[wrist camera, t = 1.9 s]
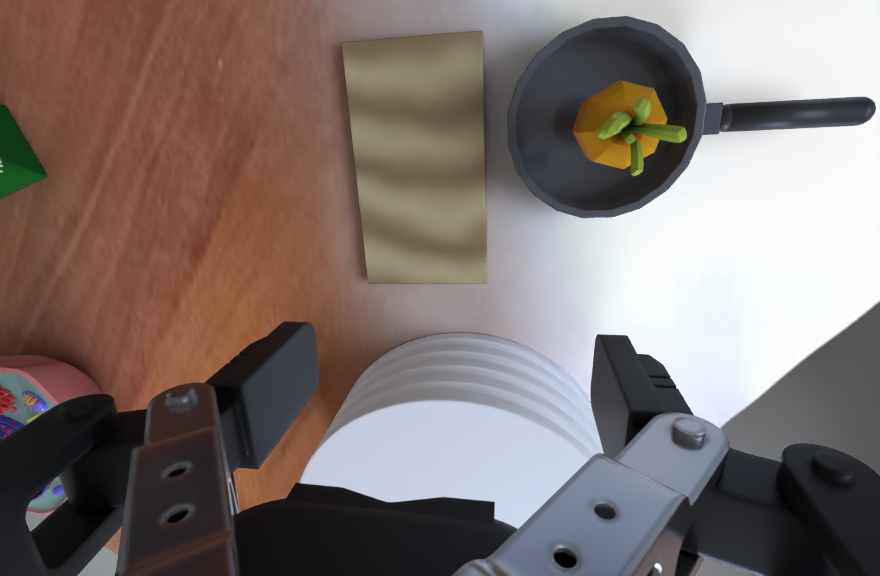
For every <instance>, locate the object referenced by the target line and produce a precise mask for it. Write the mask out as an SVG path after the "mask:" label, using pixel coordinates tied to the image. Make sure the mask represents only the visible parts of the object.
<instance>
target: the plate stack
mask: <svg viewBox="0 0 880 576" xmlns="http://www.w3.org/2000/svg"><path fill="white" fill-rule="evenodd" d="M597 453H602V454H604V452H603V449H602V445H601V441H600V437H599V434H598V430H597V426H596V423H595V419H594V415H593V411H592V406H591V402H590V400H589V399H588V397H587V396H586V394H585V393H584V392H583V390H582V389H581V388H580V386H579V385H578V384H577V383H576V382H575V381H574V380H573V379H572V378H571V377H570V376H569V375H568V374H567V373H566V372H565V371H564V370H563V369H561V368H560V367H559V366H558V365H556V364H555V363H554V362H552V361H551V360H549V359H548V358H546V357H544V356H543V355H541V354H539V353H538V352H536V351H534V350H532V349H530V348H527V347H525V346H523V345H520V344H518V343H515V342H512V341H509V340H506V339H502V338H498V337H494V336H489V335H483V334H474V333H446V334H438V335H432V336H427V337H423V338H419V339H416V340H413V341H410V342H407V343H405V344H402V345H400V346H398V347H396V348H394V349H392V350H390V351H389V352H387V353H386V354H384V355H383V356H381V357H380V358H378V359H377V360H376V361H375V362H374V363H372V364H371V365H370V366H369V367H368V368H367V369H366V370H365V371H364V372H363V373H362V375H361V376H360V377H359V378H358V380H357V381H356V383H355V384H354V386H353V387H352V389H351V391H350V393H349V394H348V396H347V398H346V399H345V401H344V403H343V404H342V406H341V408H340V410H339V411H338V413H337V414H336V416H335V418H334V419H333V421H332V423H331V425H330V426H329V428H328V430H327V431H326V433H325V435H324V436H323V438H322V440H321V441H320V443H319V445H318V447H317V448H316V450H315V451H314V453H313V455H312V456H311V458H310V460H309V462H308V463H307V465H306V467H305V469H304V471H303V474H302V476H301V479H300V482H299V483H302V484H313V485H323V486H334V487H343V488H346V489H349V490H352V491H355V492H358V493H361V494H364V495H367V496H370V497H373V498H376V499H379V500H382V501H385V502H400V501H410V500H419V499H429V498H438V497H449V498H460V499H470V500H481V501H491V502H495V516H494V519H496V520H499V521H502V522H505V523H507V524H509V525H511V526H513V527H515V528H517V529H519V528H520V527H521V526H522V525H523V524H524V523H525V522H526V521H527V520H528V519H529V518H530V517H531V516H532V515H533V514H534V513H535V512H536V511H537V510H538V509H539V508H540V507H541V506H542V505H543V504H544V503H545V502H546V501H547V500H548V499H549V498H550V497H551V496H552V495H553V494H554V493H555V492H557V491H558V490H559V489H560V488H561V487H562V486H563V485H564V484H565V483H566V482H567V481H568V480H569V479H570V478H571V477H572V476H573V475H574V474H575V473H576V472H577V471H578V470H579V469H580V468H581V467H582V466H583V465H584V464H585V463H586V462H587V461H588V460H589V459H590V458H591V457H593V456H594V455H595V454H597Z"/></svg>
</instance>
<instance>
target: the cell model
mask: <svg viewBox="0 0 880 576" xmlns="http://www.w3.org/2000/svg"><path fill="white" fill-rule="evenodd" d="M90 394H102V392H101V389H100V388H99V386H98V385H97V383H96V382H95V381H94V380H93V379H92V378H91V377H89V376H88V375H86V374H85V373H83V372H82V371H80V370H79V369H77V368H76V367H74V366H72V365H69V364H67V363H65V362H62V361H60V360H57V359H55V358H52V357H49V356H44V355H5V356H0V442H1V441H2V440H4V439H5V438H7V437H8V436H10V435H11V434H13V433H14V432H16V431H17V430H19V429H20V428H22V427H23V426H25V425H26V424H28V423H29V422H31V421H32V420H34V419H35V418H37V417H38V416H40V415H41V414H43V413H44V412H46V411H47V410H49V409H51V408H52V407H54V406H56V405H58V404H60V403H62V402H65V401H67V400H70V399H73V398H76V397H80V396H84V395H90ZM65 500H67V496H66V494H65V491H64V488H63V486H62V483H61V480H60V478H59V476H58V477H56V478H55V479H54V480H53V481H52V482H50V483H49V484H48V485H47V486H46V487H44V488H43V489H42V490H41V491H40V492H38V493H37V494H36V495H35V496H34V498H33V499H32V500H31V502H30V503H29V505H28V508H27V510H26V511H27V512H31V513H35V514H39V515H50V514H51V513H52V512H53V511H54V510H56V509H57V508H58V507H59V506H60V505H61V504H62V503H63V502H64V501H65Z"/></svg>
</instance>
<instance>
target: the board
mask: <svg viewBox="0 0 880 576" xmlns="http://www.w3.org/2000/svg"><path fill="white" fill-rule="evenodd" d="M342 52H343V61H344V70H345V79H346V88H347V97H348V106H349V115H350V124H351V133H352V142H353V151H354V160H355V169H356V178H357V188H358V197H359V206H360V215H361V224H362V233H363V242H364V251H365V260H366V269H367V278H368V284H487V279H488V276H487V219H486V162H485V104H484V47H483V32H482V31H472V32H460V33H448V34H436V35H424V36H413V37H401V38H389V39H377V40H365V41H354V42H342Z"/></svg>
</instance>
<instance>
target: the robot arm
mask: <svg viewBox="0 0 880 576" xmlns="http://www.w3.org/2000/svg"><path fill="white" fill-rule="evenodd" d="M318 382H319V363H318V356H317V348H316V341H315V333H314V328H313V326H312V324H311V323H309V322H283V323H282V324H280V325H279V326H278V327H277V328H276V329H275V330H273V331H272V332H271V333H270V334H269V335H268V336H267V337H264V338H262V339H260V340H258V341H256V342H254V343H252V344H250V345H249V346H247V347H246V348H245V349H244V350H243V351H241V352H240V353H239V356H236V357H234V358H233V359H232V360H231V361H230V363H227V364H226V365H225V366H224V367H223V368H221V369H220V370H219V371H218V372H217V373H215V374H214V375H213V376H212V377H211V378H210V379H208V380H207V381H206V382H205V383H189V384H184V385H179V386H176V387H173V388H170V389H168V390H166V391H164V392H162V393H160V394H159V395H157V396H156V397H154V398H153V399H152V400H151V401H150V402H149V404H148V407H147V409H144V410H136V411H128V412H120V413H118V412H117V409H116V406H115V402H114V399H113V397H112V396H110V395H107V394H90V395H84V396H80V397H76V398H73V399H70V400H67V401H65V402H62V403H60V404H58V405H56V406H54V407H52V408H51V409H49V410H47V411H46V412H44V413H43V414H41V415H40V416H38V417H37V418H35V419H34V420H32V421H31V422H29V423H28V424H26V425H25V426H23V427H22V428H20V429H19V430H17V431H16V432H14V433H13V434H11V435H10V436H8V437H7V438H5V439H4V440H2V441H1V442H0V576H77V575H78V574H79V573H80V572H81V571H82V570H83V569H84V567H85V566H86V565H87V564H88V563H89V562H90V561H91V560H92V558H93V557H94V556H95V555H96V554H97V553H98V552H99V551H100V550H101V548H102V547H103V546H104V545H105V544H106V543H107V542H108V541H109V540H110V538H111V537H112V536H113V535H114V534H115V533H116V532H117V531H118V529H119V528H120V527H121V526H122V530H121V538H120V545H119V553H118V560H117V568H116V573H115V576H695V575H696V573H697V571H698V570H699V568H700V566H701V564H702V562H703V560H704V558H707V559H709V560H713V561H715V562H718V563H721V564H723V565H726V566H729V567H732V568H734V569H737V570H740V571H743V572H746V573H748V574H751V575H753V576H880V476H879V475H878V474H877V473H875V471H874V470H872V469H871V468H870V467H868V466H867V465H865V464H864V463H863V462H861V461H859V460H858V459H856V458H854V457H852V456H850V455H848V454H845V453H843V452H840V451H838V450H835V449H831V448H828V447H825V446H820V445H815V444H805V443H801V444H793V445H790V446H788V447H786V448H785V449H784V451H783V453H782V456H781V460H780V462H778V461H774V460H770V459H766V458H762V457H759V456H754V455H751V454H747V453H744V452H740V451H738V450H735V449H732V448H730V445H729V439H728V438H727V436H726V435H725V434H724V433H723V431H722V430H721V429H719V428H718V427H717V426H715V425H714V424H712V423H710V422H709V421H707V420H704V419H702V418H699V417H696V416H694V415H693V413H692V411H691V410H690V408H689V407H688V405H687V403H686V402H685V400H684V398H683V397H682V395H681V393H680V392H679V390H678V389H676V385H675V384H674V382H673V380H672V379H670V375H669V374H668V372H667V370H666V369H665V367H664V365H662V364H661V363H660V362H658V361H657V360H655V359H654V358H653V357H651V356H650V355H645V354H637V353H636V351H635V349H634V347H633V345H632V344H631V342H630V340H629V338H628V336H625V335H600V334H598V335H597V337H596V341H595V349H594V359H593V370H592V380H591V406H592V411H593V415H594V419H595V423H596V426H597V430H598V434H599V437H600V441H601V445H602V449H603V452H604V454H602V453H597V454H595V455H594V456H593V457H591V458H590V459H589V460H588V461H587V462H586V463H585V464H584V465H583V466H582V467H581V468H580V469H579V470H578V471H577V472H576V473H575V474H574V475H573V476H572V477H571V478H570V479H569V480H568V481H567V482H566V483H565V484H564V485H563V486H562V487H561V488H560V489H559V490H558V491H557V492H555V493H554V494H553V495H552V496H551V497H550V498H549V499H548V500H547V501H546V502H545V503H544V504H543V505H542V506H541V507H540V508H539V509H538V510H537V511H536V512H535V513H534V514H533V515H532V516H531V517H530V518H529V519H528V520H527V521H526V522H525V523H524V524H523V525H522V526H521V527H520V528H519V529H517V528H515V527H513V526H511V525H509V524H507V523H505V522H502V521H499V520H496V519H494V516H495V502H491V501H481V500H470V499H460V498H449V497H438V498H429V499H419V500H410V501H400V502H385V501H382V500H379V499H376V498H373V497H370V496H367V495H364V494H361V493H358V492H355V491H352V490H349V489H346V488H343V487H334V486H323V485H313V484H302V483H295V485H294V487H293V488H292V490H291V491H290V493H289V495H288V496H287V498H286V499H280V500H275V501H270V502H266V503H263V504H260V505H257V506H254V507H251V508H249V509H246V510H244V511H242V512H240V507H239V501H238V495H237V489H236V483H235V479H234V474H233V472H234V471H235V470H236V469H237V467H239V468H249V469H259V467H260V466H261V465H262V463H263V462H264V460H265V459H266V458H267V456H268V455H269V454H270V452H271V451H272V450H273V448H274V447H275V446H276V444H277V443H278V441H279V440H280V439H281V437H282V436H283V435H284V433H285V432H286V431H287V429H288V428H289V426H290V425H291V424H292V422H293V421H294V420H295V418H296V417H297V416H298V414H299V413H300V412H301V410H302V409H303V407H304V406H305V405H306V403H307V402H308V401H309V399H310V398H311V397H312V395H313V394H314V392H315V391H316V389H317V386H318ZM58 476H59V478H60V480H61V483H62V486H63V488H64V491H65V494H66V496H67V500H65V501H64V502H63V503H62V504H61V505H60V506H59V507H58V508H57V509H56V510H54V511H53V512H52V513H51V514H50V515H49V516H48V517H47V518H46V519H44V520H43V521H42V522H41V523H40V524H39V525H38V526H37V527H36V528H35V529H33V530H32V531H31V532H30V531H29V528H28V526H27V524H26V520H25V516H26V510H27V508H28V505H29V503H30V502H31V500H32V499H33V498H34V496H35V495H36V494H37V493H38V492H40V491H41V490H42V489H43V488H44V487H46V486H47V485H48V484H49V483H50V482H52V481H53V480H54V479H55V478H56V477H58Z"/></svg>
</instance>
